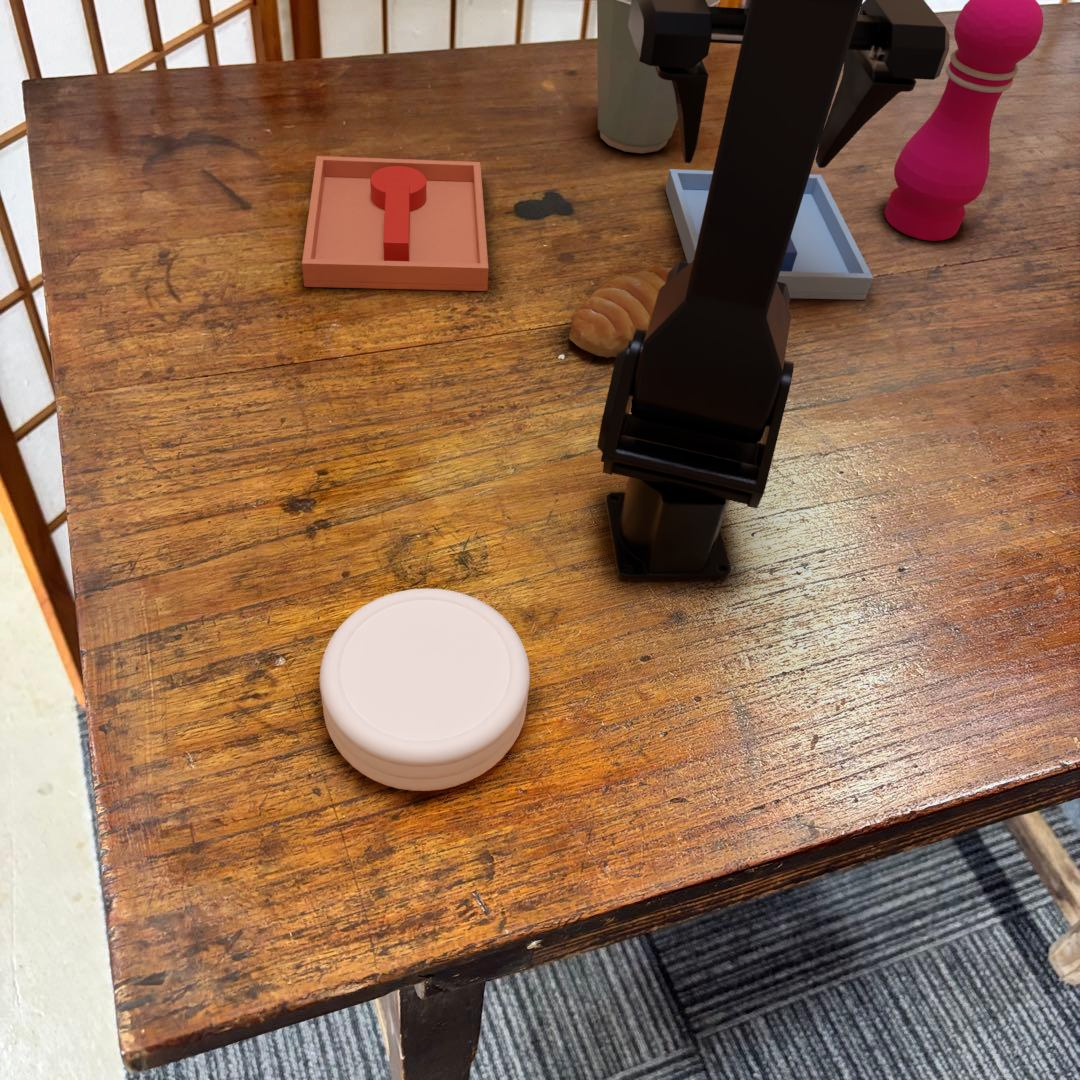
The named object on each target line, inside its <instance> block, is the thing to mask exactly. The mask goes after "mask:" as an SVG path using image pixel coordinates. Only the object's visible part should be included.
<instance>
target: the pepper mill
mask: <svg viewBox="0 0 1080 1080" xmlns="http://www.w3.org/2000/svg"><path fill="white" fill-rule="evenodd" d="M1043 28H1044V15H1043V10H1042V7H1041V5H1040V3H1039V2H1038V1H1037V0H968V1H967V2H966V3H965V4H964V6H963V7H962V9H961V11H960V12H959V13H958V16H957V19H956V20H955V25H954V31H953V36H954V41H955V43H956V46H957V49H955V50H954V51H952V53H950V56H949V57H950V59H949V60H950V61H949V63H948V64H947V65H946V67H945V73H946V75H947V77H948V78H947V81H946V84H945V87H944V91H943V93H942V96H941V98H940V100H939V102H938V104H937V106H936V107H935V109H934V111H933V112H932V114H931V115H930V117H929V118H928V119H926V121H925V122H924V123H923V124H922V126H921V127H920V128H919V129H918V130H917V131H916V132H915V133H914V134H913V135H912V136H911V137H910V138H909V139H908V141H907V142H906V144H904V147H903V148H902V149H901V151H900V154H899V156H898V158H897V160H896V162H895V164H894V169H893V176H894V180H895V183H896V185H897V187H896V188H894V189H893V190H892V191H891V193H890V195H889V197H888V201H887V203H886V207H885V209H884V217H885V219H886V221H887V222H888V224H889V226H891V227H892V228H894V229H895V230H897V231H898V232H899V233H902V234H904V235H906V236H909V237H911V238H913V239H916V240H917V239H918V240H922V241H930V242H932V241H933V242H934V241H935V242H941V241H944V240H949V239H951V238H952V237H954V236H955V235H957V234H958V232H959V230H960V228H961V225H962V222H963V220H964V218H965V216H966V207H965V206H966V205H969V204H970V203H972V202H973V201H975V200H976V199H977V198H978V197H979V196H980V195H981V194H982V192H983V190H984V187H985V184H986V181H987V178H988V176H989V175H988V174H989V168H990V162H991V161H990V160H991V159H990V155H991V154H990V143H991V141H990V140H991V138H990V136H991V126H992V120H993V116H994V113H995V110H996V108H997V104H998V102H999V100H1000V98H1001V96H1002V94H1003V92H1006V91H1008V90H1009V89H1011V88H1012V86H1013V84H1014V79H1015V77H1016V76H1017V75H1018V72H1019V66H1018V65H1017V64H1018V63H1019V62H1021V61H1022V60H1024V59H1026V58H1027V57H1029V56H1030V55H1031V53H1033V52H1034V50H1035V49H1036V47H1037V45H1038V43H1039V41H1040V39H1041V36H1042V33H1043Z"/></svg>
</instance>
